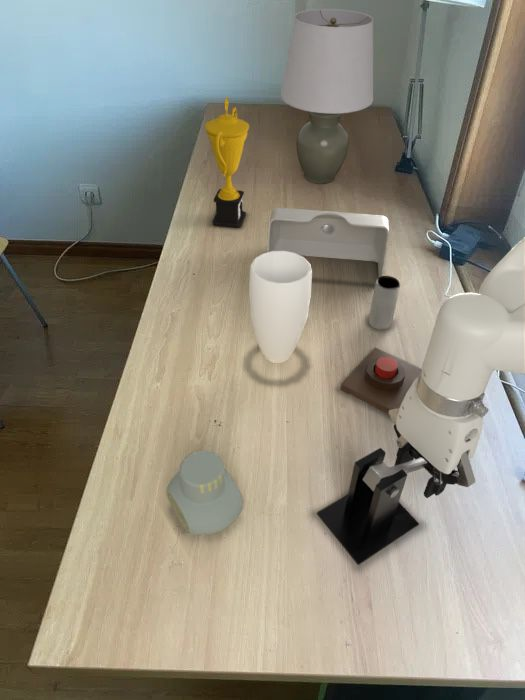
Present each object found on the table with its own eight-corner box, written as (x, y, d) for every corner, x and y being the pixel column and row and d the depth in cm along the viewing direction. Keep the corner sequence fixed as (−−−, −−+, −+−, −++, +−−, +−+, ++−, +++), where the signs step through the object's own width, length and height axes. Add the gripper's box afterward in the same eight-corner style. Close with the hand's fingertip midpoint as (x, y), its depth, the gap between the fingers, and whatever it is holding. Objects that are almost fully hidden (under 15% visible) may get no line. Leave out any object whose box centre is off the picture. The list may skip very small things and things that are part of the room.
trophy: (240, 244, 133) (239, 115, 113) (200, 240, 134) (192, 111, 114) (255, 206, 147) (256, 84, 127) (219, 202, 148) (214, 81, 128)
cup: (256, 391, 97) (257, 290, 83) (241, 352, 105) (240, 253, 90) (312, 381, 100) (323, 280, 85) (294, 343, 107) (302, 245, 93)
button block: (373, 356, 105) (376, 339, 102) (422, 379, 100) (427, 363, 98) (339, 392, 98) (342, 376, 95) (391, 420, 93) (396, 403, 90)
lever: (411, 454, 80) (419, 442, 79) (437, 479, 77) (445, 467, 76) (354, 471, 73) (362, 458, 72) (381, 500, 70) (389, 486, 69)
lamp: (264, 186, 155) (267, 22, 128) (294, 154, 172) (302, 3, 145) (348, 203, 149) (369, 34, 122) (370, 168, 165) (394, 12, 138)
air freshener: (250, 524, 78) (250, 482, 72) (198, 554, 75) (193, 513, 68) (212, 469, 85) (209, 426, 78) (162, 494, 82) (155, 452, 75)
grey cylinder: (386, 335, 109) (395, 292, 102) (364, 327, 111) (372, 284, 104) (394, 322, 112) (403, 279, 105) (372, 315, 114) (381, 272, 107)
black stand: (374, 482, 84) (389, 426, 75) (417, 528, 78) (438, 474, 70) (315, 517, 79) (324, 462, 71) (357, 568, 74) (371, 516, 65)
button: (381, 361, 98) (382, 353, 97) (399, 370, 97) (401, 362, 96) (371, 372, 96) (372, 365, 95) (390, 381, 95) (391, 374, 93)
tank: (378, 249, 132) (387, 200, 124) (381, 289, 120) (391, 238, 112) (273, 241, 134) (274, 192, 126) (265, 279, 122) (266, 228, 114)
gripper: (528, 422, 64) (482, 509, 76) (421, 338, 74) (395, 427, 87) (484, 450, 61) (443, 537, 73) (378, 358, 71) (358, 447, 84)
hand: (418, 476), depth 80 cm, fingers closed on lever, 5 cm apart
